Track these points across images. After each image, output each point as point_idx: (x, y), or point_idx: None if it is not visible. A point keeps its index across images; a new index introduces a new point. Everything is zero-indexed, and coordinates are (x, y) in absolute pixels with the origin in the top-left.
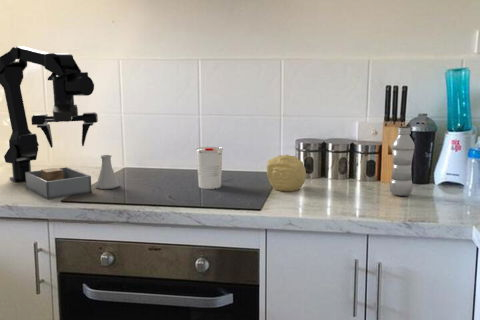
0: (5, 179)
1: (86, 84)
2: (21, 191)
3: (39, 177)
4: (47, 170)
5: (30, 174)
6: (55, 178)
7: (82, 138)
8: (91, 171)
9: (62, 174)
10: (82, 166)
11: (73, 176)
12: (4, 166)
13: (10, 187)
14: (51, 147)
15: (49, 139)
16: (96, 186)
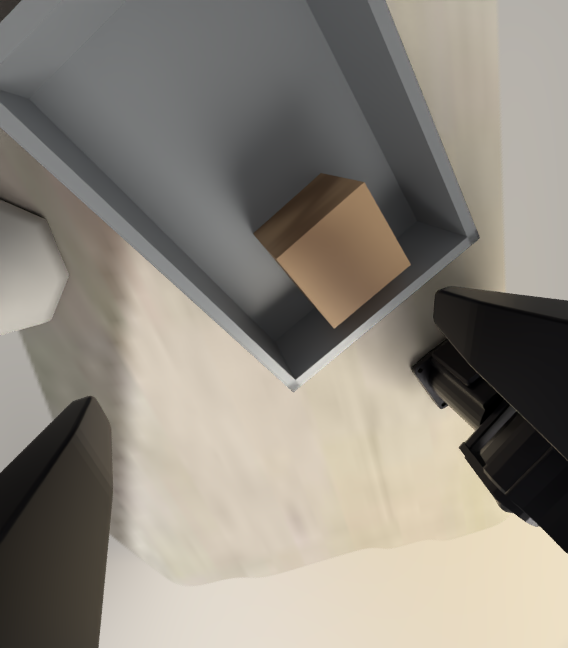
0: None
1: None
2: None
3: None
4: (369, 242)
5: (449, 169)
6: (301, 211)
7: (35, 472)
8: (238, 520)
9: (271, 248)
10: (296, 563)
11: (219, 297)
12: None
13: (483, 233)
14: (441, 291)
15: (541, 305)
16: (35, 220)
